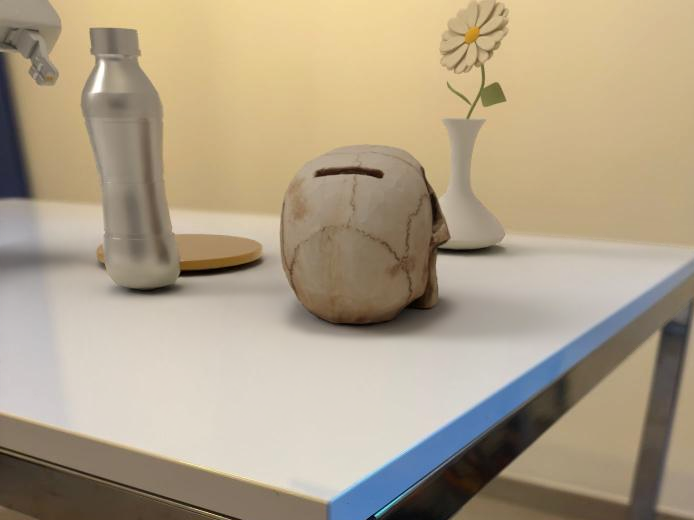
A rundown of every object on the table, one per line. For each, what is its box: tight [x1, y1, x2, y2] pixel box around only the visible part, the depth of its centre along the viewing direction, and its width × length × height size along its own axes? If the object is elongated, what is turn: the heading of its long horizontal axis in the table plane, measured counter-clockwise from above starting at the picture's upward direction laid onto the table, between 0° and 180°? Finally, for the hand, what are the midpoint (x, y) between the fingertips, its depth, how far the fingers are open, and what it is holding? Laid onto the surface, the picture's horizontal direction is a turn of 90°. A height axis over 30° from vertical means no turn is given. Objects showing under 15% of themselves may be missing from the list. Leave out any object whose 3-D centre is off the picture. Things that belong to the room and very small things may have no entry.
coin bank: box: [279, 143, 451, 325], centre depth 63 cm, size 16×17×13 cm
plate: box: [95, 233, 264, 273], centre depth 82 cm, size 17×17×2 cm
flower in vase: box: [438, 0, 510, 250], centre depth 87 cm, size 13×11×25 cm
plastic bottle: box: [79, 27, 181, 291], centre depth 66 cm, size 6×7×20 cm
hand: (8, 78), depth 68 cm, fingers open, 8 cm apart
